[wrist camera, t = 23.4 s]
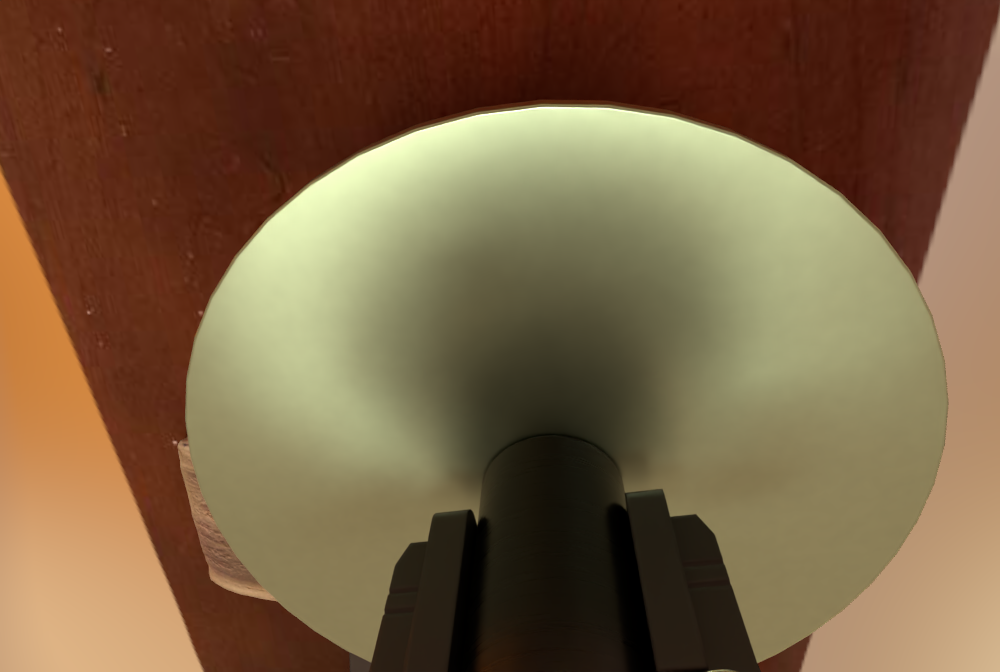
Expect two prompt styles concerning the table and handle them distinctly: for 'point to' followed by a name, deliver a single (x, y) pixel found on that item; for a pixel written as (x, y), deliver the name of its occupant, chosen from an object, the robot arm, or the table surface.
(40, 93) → the table surface
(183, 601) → the table surface
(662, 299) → the lid
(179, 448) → the fragment
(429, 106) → the table surface
